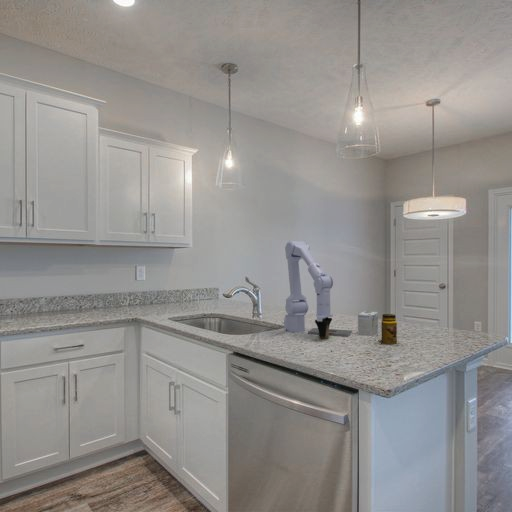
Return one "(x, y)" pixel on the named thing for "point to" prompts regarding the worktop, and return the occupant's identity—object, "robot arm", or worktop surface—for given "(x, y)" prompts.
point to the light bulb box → (368, 323)
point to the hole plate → (332, 332)
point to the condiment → (388, 330)
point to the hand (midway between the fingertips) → (323, 335)
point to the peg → (326, 334)
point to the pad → (324, 339)
